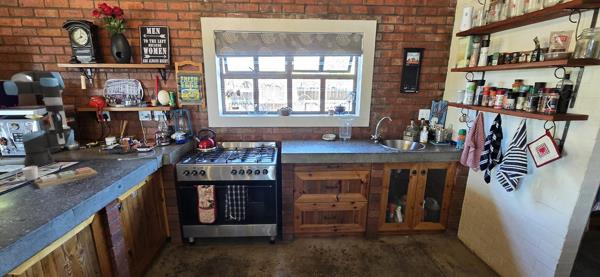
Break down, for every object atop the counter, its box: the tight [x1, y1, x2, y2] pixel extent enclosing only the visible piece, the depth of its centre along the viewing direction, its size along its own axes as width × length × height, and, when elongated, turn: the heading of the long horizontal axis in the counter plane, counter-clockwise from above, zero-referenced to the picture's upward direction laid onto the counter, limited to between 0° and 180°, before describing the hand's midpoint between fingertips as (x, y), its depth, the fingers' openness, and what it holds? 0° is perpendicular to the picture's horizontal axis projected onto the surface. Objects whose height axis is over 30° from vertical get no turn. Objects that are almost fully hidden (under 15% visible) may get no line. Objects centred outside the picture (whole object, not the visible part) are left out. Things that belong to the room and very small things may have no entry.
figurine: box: [117, 138, 137, 156], centre depth 209 cm, size 10×10×12 cm
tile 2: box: [57, 170, 75, 179], centre depth 151 cm, size 6×6×3 cm
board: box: [33, 167, 99, 190], centre depth 151 cm, size 13×26×2 cm, turn 145°
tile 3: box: [75, 166, 92, 175], centre depth 157 cm, size 6×6×3 cm
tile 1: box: [39, 173, 57, 183], centre depth 144 cm, size 6×6×3 cm
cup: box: [15, 166, 39, 182], centre depth 148 cm, size 7×10×8 cm
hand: (62, 143), depth 152 cm, fingers closed
